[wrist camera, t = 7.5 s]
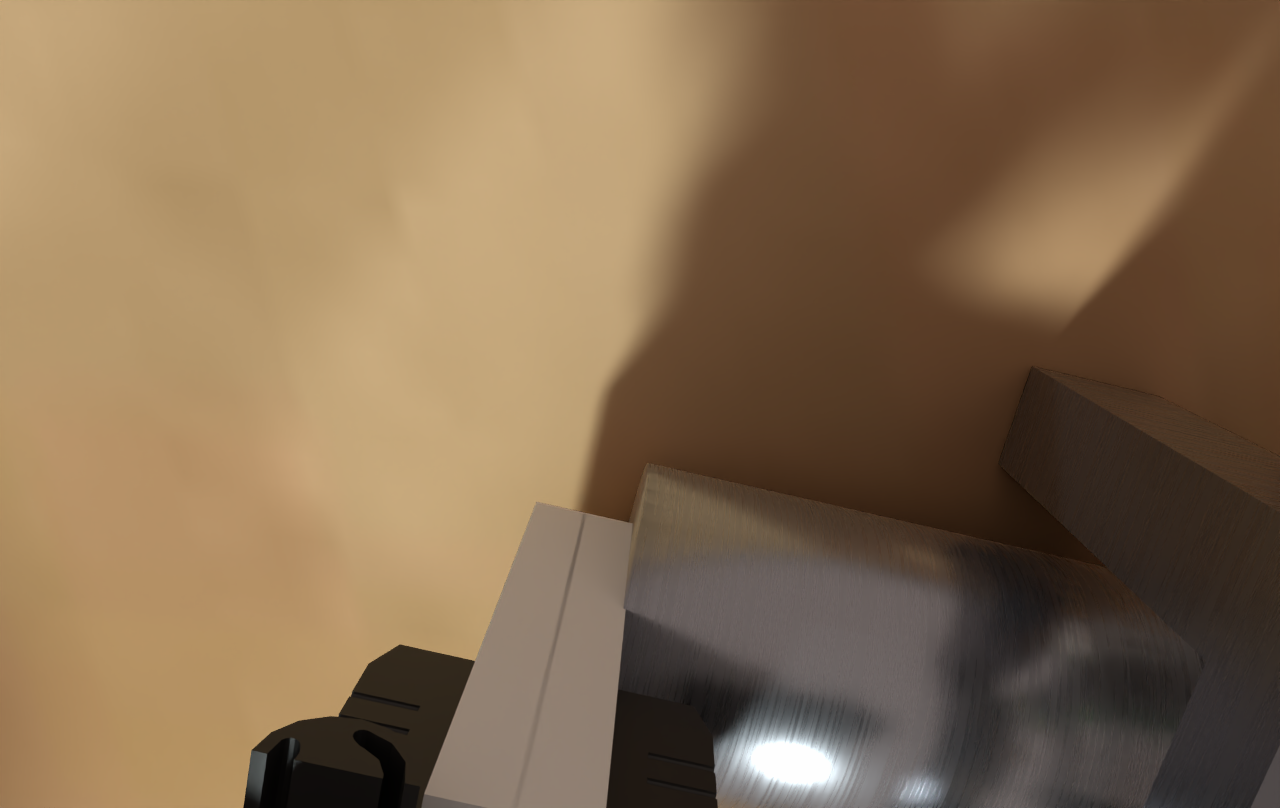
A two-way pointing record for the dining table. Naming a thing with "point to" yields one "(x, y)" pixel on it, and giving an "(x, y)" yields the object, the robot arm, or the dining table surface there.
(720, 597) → the tube
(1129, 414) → the dark grey arch
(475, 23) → the dining table surface
